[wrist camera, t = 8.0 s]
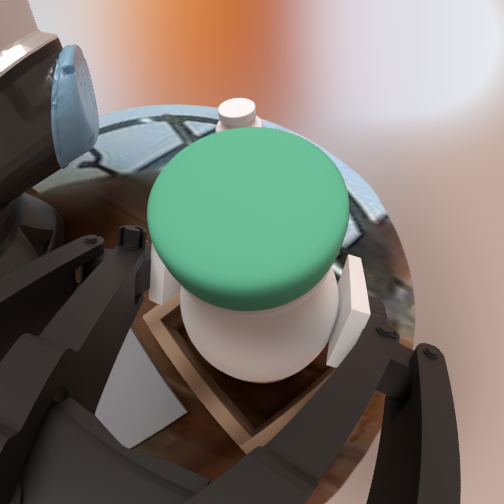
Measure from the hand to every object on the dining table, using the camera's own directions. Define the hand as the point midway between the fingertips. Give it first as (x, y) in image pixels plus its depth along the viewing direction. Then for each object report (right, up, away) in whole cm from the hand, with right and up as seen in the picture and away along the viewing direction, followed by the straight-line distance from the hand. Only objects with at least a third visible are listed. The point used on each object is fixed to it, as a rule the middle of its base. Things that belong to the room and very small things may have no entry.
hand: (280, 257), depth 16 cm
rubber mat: (-17, -14, +7) cm, 24 cm away
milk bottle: (-1, -7, +7) cm, 10 cm away
